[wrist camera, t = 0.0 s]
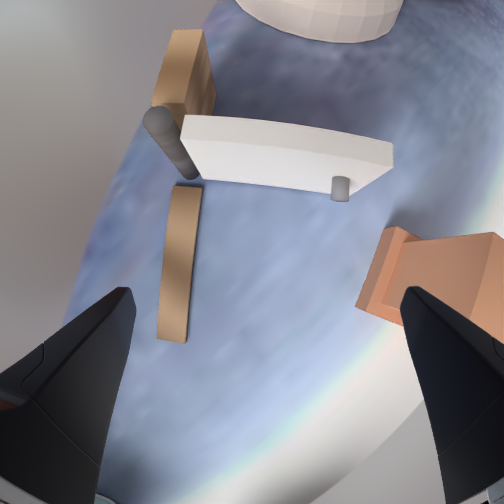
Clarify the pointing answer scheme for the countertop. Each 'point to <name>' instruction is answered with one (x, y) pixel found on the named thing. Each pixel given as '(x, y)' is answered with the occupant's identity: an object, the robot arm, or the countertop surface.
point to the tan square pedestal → (439, 276)
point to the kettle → (327, 17)
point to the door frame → (180, 168)
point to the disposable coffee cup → (102, 500)
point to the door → (284, 154)
